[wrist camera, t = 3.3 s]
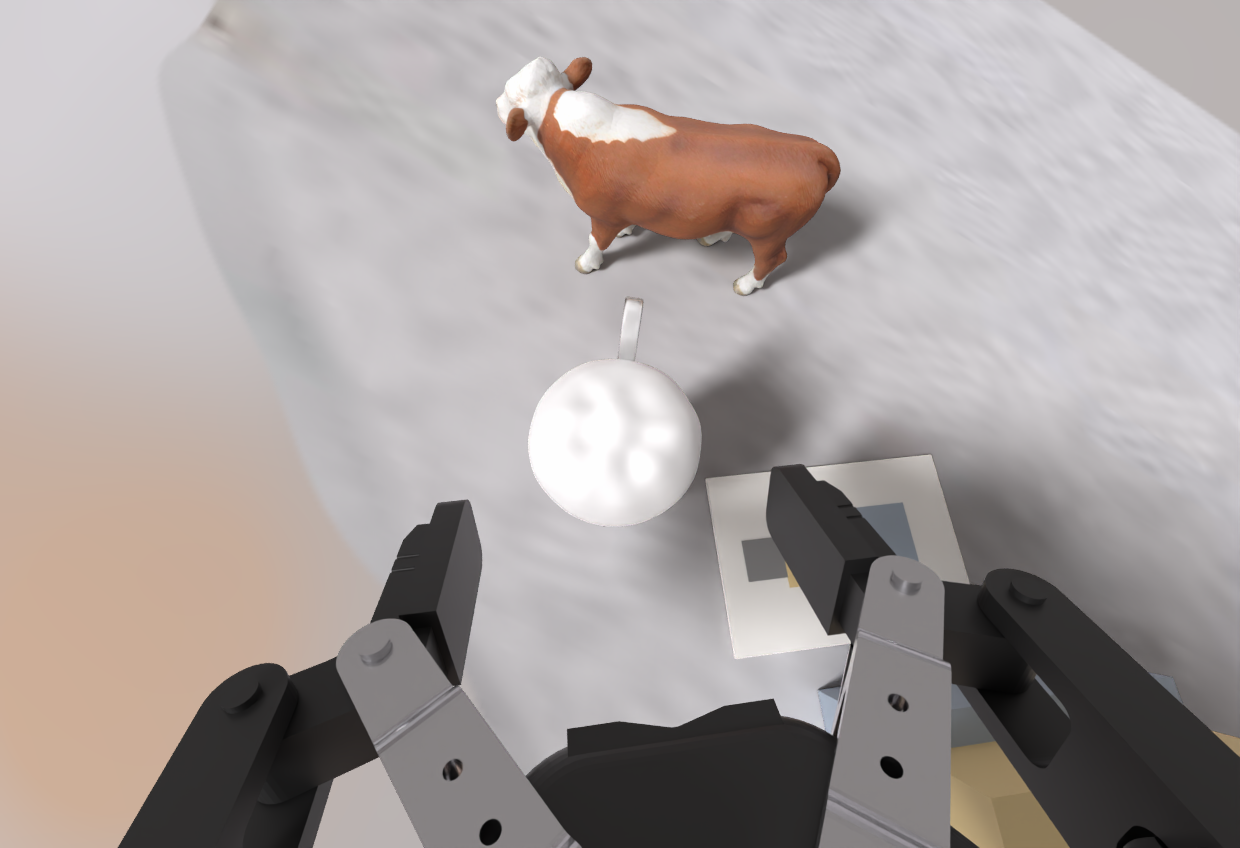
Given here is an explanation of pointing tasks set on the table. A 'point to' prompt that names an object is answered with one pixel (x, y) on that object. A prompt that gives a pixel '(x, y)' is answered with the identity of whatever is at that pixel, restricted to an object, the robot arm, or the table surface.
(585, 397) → the milkshake
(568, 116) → the bull figurine
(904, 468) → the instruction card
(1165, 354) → the table surface
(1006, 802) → the tower base
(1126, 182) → the table surface
